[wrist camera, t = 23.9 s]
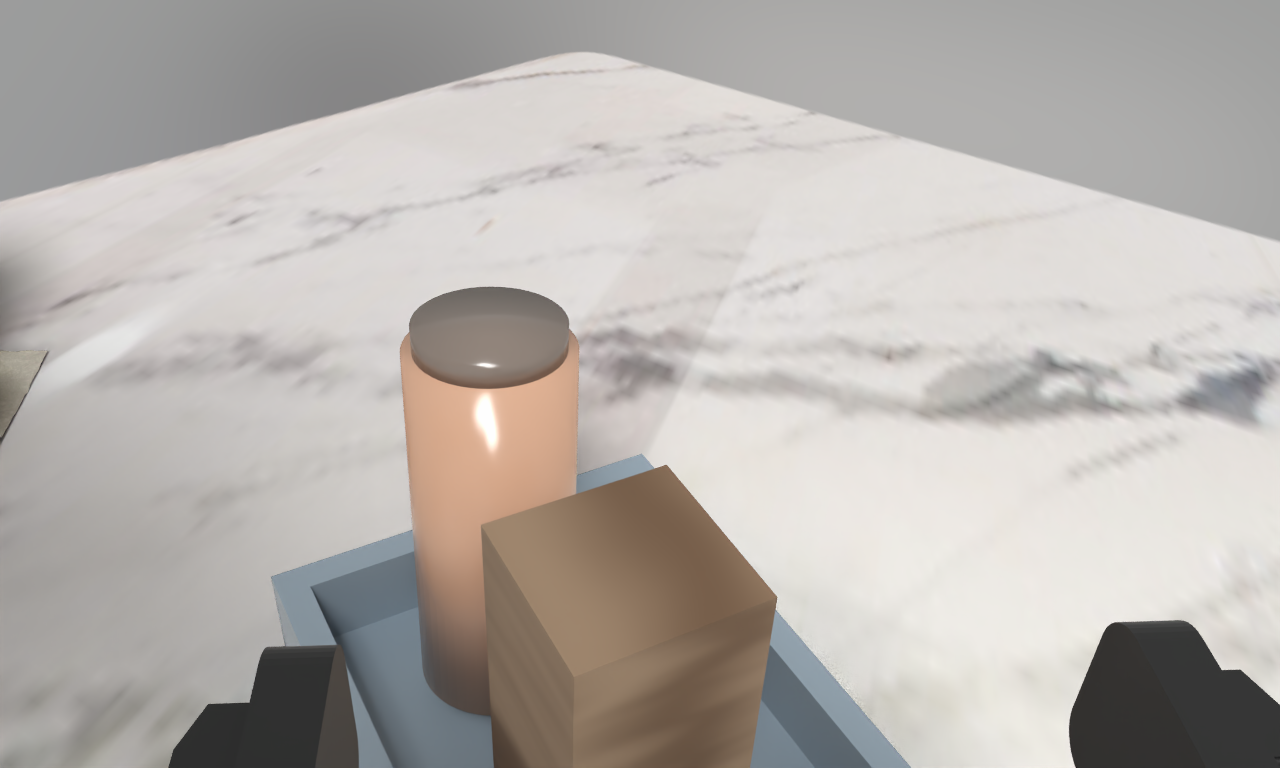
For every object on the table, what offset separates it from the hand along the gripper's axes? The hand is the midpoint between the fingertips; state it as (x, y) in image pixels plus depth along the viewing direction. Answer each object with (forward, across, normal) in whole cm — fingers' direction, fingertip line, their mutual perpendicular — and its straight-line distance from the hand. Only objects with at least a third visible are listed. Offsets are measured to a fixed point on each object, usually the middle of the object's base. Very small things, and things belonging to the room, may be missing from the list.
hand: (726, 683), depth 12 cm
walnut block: (+11, 0, +21) cm, 24 cm away
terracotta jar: (+18, +3, +21) cm, 28 cm away
